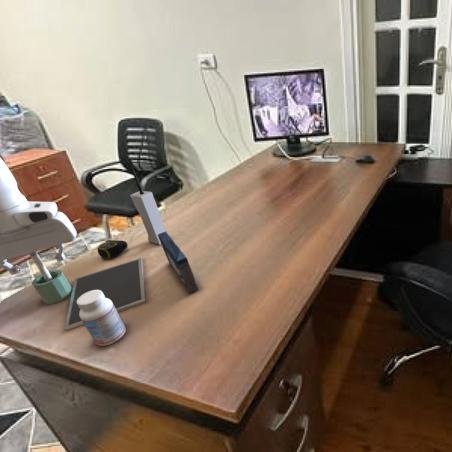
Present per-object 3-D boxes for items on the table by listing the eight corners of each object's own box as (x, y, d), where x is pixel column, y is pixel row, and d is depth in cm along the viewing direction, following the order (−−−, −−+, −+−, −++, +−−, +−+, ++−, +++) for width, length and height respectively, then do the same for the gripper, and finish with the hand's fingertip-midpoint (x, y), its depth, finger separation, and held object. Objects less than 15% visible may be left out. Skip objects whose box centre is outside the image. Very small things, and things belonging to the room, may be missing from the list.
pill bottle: (91, 338, 77) (67, 299, 71) (120, 321, 80) (99, 283, 75) (101, 351, 73) (77, 311, 67) (131, 333, 77) (110, 294, 71)
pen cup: (41, 307, 88) (29, 289, 85) (46, 293, 93) (34, 275, 90) (71, 298, 90) (60, 279, 87) (73, 284, 95) (63, 266, 92)
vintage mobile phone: (158, 236, 115) (130, 164, 103) (169, 239, 113) (141, 165, 100) (149, 242, 112) (118, 168, 100) (160, 245, 110) (130, 170, 98)
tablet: (65, 331, 79) (63, 328, 79) (75, 281, 97) (74, 278, 96) (146, 302, 86) (144, 299, 85) (142, 260, 103) (141, 257, 103)
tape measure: (130, 249, 110) (126, 238, 108) (114, 261, 104) (109, 251, 102) (113, 247, 111) (108, 237, 109) (95, 260, 106) (90, 249, 104)
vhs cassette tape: (168, 263, 100) (157, 233, 95) (179, 259, 102) (168, 230, 97) (187, 295, 87) (174, 262, 82) (199, 290, 88) (187, 257, 83)
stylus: (54, 296, 91) (28, 255, 84) (55, 293, 92) (29, 252, 85) (61, 294, 91) (35, 253, 85) (61, 291, 92) (36, 250, 86)
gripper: (-55, 237, 74) (-17, 288, 80) (59, 209, 81) (84, 258, 88) (-44, 225, 78) (-9, 274, 85) (62, 200, 86) (86, 247, 93)
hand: (39, 266), depth 87 cm, fingers open, 8 cm apart
